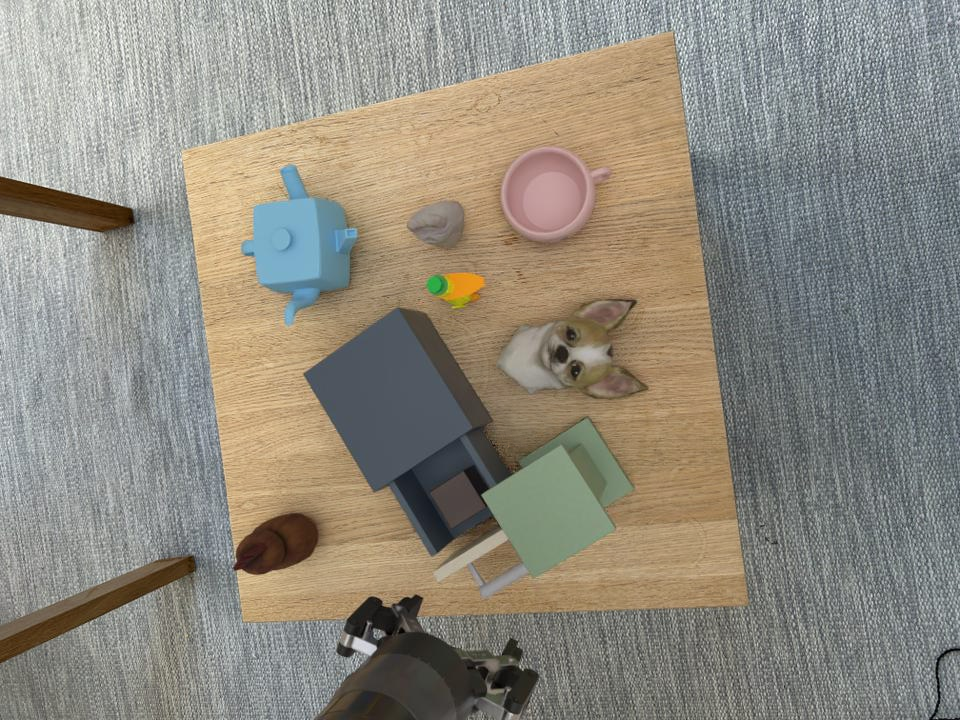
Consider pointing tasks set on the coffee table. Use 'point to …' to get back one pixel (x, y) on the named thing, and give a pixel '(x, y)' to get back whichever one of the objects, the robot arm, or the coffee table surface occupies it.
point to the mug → (549, 193)
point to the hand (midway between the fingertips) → (463, 627)
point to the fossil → (439, 223)
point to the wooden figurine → (277, 544)
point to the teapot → (300, 245)
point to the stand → (559, 498)
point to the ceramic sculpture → (572, 353)
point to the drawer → (431, 521)
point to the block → (460, 496)
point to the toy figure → (456, 288)
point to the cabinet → (396, 395)
